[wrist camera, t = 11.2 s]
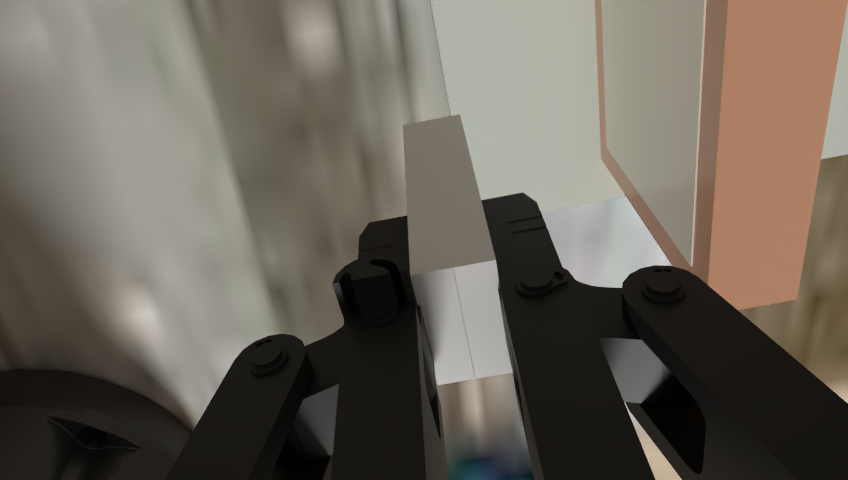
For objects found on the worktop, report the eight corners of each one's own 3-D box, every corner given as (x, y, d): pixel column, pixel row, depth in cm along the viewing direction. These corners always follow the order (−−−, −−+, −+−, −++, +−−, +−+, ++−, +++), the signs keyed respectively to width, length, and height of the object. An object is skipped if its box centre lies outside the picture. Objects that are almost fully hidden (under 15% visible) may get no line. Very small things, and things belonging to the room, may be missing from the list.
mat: (468, 219, 28) (470, 226, 27) (403, -149, 20) (404, -148, 20) (935, 129, 27) (946, 135, 26) (1050, -294, 19) (1069, -297, 19)
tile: (599, 159, 26) (704, 316, 18) (588, -116, 21) (731, -78, 12) (662, 146, 26) (797, 299, 18) (667, -133, 21) (866, -106, 12)
